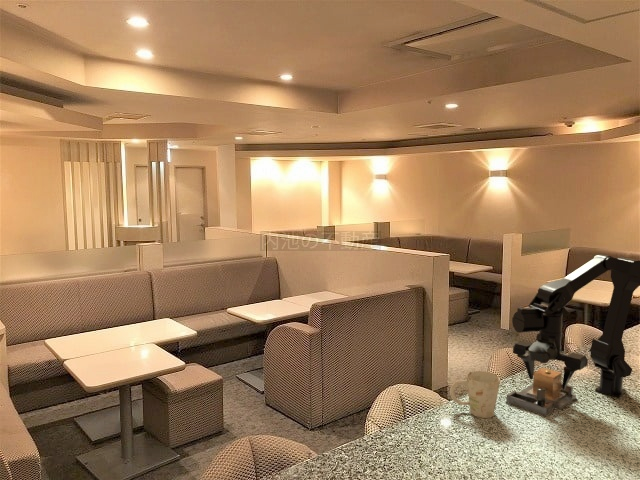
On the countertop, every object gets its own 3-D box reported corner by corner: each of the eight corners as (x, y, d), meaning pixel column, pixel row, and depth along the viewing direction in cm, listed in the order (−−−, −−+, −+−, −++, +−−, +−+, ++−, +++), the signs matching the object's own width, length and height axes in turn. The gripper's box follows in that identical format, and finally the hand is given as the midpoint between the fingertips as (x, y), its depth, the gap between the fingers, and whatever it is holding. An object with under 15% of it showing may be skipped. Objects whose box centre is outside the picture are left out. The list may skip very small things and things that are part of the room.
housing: (532, 392, 142) (533, 370, 141) (541, 387, 146) (542, 366, 145) (552, 398, 138) (553, 376, 137) (560, 393, 142) (561, 371, 141)
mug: (500, 421, 127) (502, 384, 126) (450, 417, 130) (451, 380, 129) (496, 407, 135) (497, 372, 134) (448, 403, 138) (449, 368, 137)
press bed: (534, 385, 150) (534, 375, 150) (575, 398, 141) (576, 387, 141) (517, 396, 143) (517, 385, 142) (560, 410, 134) (560, 398, 134)
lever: (536, 404, 135) (537, 386, 135) (547, 407, 133) (548, 389, 133) (533, 406, 134) (534, 388, 133) (543, 410, 132) (544, 392, 131)
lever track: (513, 398, 141) (513, 390, 141) (552, 411, 133) (553, 403, 133) (506, 402, 138) (506, 394, 138) (546, 416, 130) (546, 408, 130)
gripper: (504, 328, 141) (502, 381, 143) (573, 344, 128) (570, 402, 129) (522, 321, 149) (520, 371, 151) (589, 335, 135) (586, 390, 137)
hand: (547, 383), depth 142 cm, fingers open, 9 cm apart
